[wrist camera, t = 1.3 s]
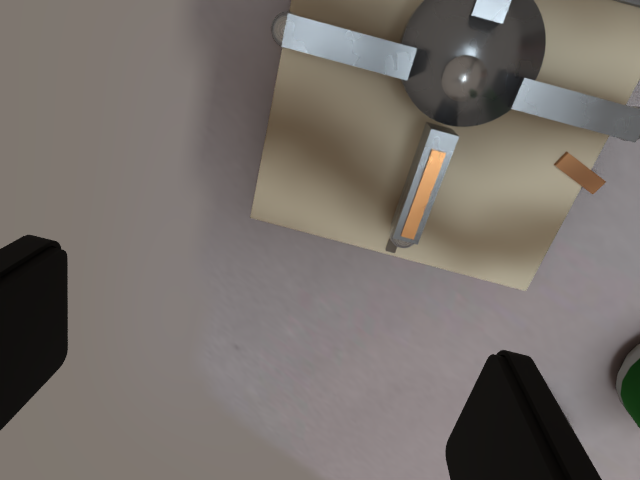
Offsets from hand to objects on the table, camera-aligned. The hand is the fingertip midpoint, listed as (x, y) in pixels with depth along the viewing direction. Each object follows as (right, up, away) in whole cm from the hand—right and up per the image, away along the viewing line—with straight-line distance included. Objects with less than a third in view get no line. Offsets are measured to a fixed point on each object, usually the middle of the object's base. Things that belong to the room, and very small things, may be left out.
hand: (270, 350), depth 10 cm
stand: (+8, +12, +14) cm, 20 cm away
